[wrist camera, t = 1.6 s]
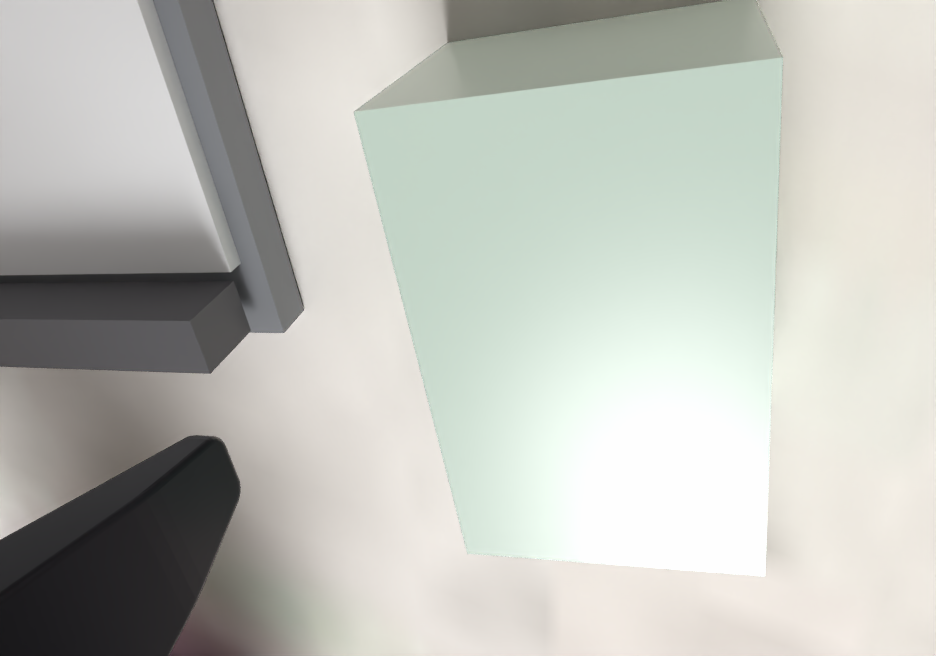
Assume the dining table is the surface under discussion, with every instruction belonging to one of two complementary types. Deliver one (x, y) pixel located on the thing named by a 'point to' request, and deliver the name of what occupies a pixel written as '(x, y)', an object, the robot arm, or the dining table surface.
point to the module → (594, 280)
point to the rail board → (130, 192)
